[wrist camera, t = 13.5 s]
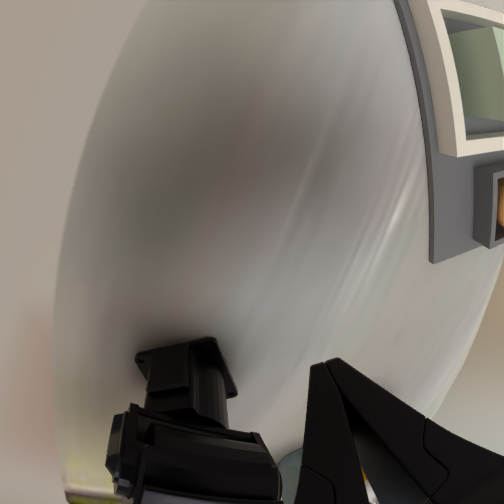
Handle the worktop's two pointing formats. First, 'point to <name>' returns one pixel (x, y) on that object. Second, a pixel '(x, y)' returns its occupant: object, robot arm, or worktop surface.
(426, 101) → the chassis
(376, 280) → the worktop surface
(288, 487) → the drinking glass
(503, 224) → the click button
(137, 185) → the worktop surface
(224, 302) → the worktop surface
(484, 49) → the pale green block
